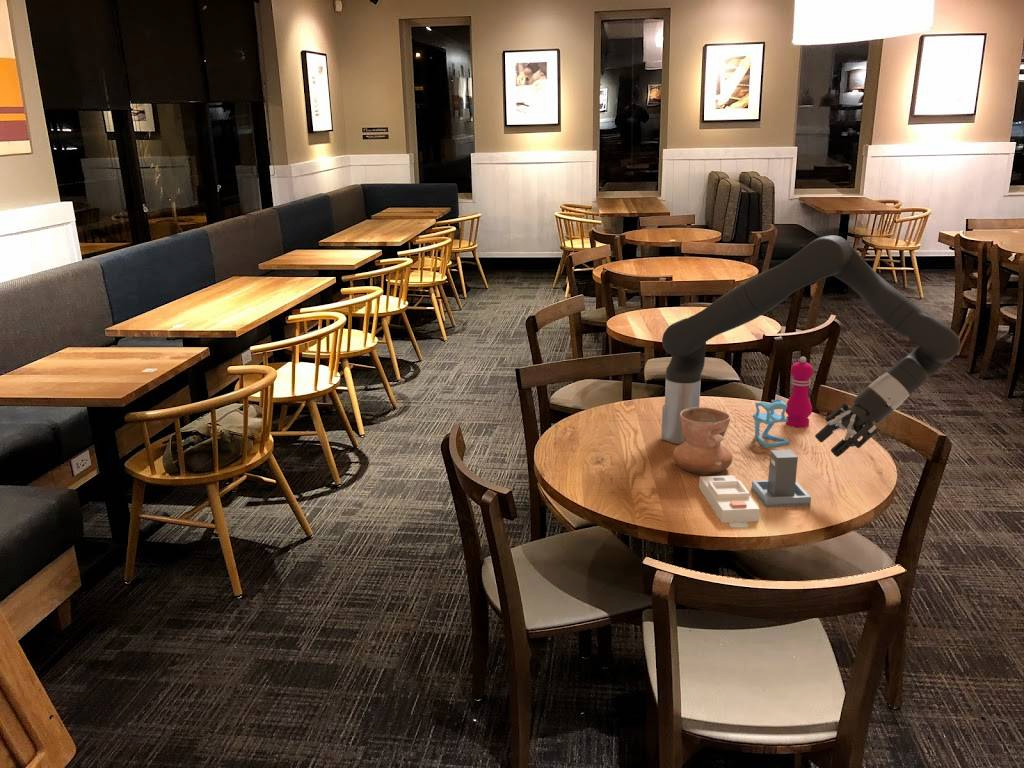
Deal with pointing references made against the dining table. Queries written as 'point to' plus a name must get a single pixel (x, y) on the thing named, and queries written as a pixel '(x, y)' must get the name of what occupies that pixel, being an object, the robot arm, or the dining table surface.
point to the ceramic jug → (703, 441)
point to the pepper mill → (799, 395)
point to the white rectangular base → (729, 499)
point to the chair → (770, 421)
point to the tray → (797, 500)
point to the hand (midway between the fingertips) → (825, 446)
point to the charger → (782, 473)
